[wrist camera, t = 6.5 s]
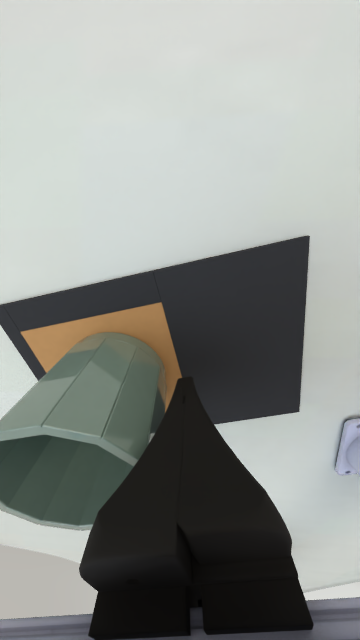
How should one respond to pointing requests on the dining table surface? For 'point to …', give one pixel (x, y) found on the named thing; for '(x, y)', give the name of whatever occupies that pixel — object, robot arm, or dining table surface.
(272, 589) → the robot arm
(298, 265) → the black and orange board
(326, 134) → the dining table surface
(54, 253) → the dining table surface
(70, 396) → the tumbler
